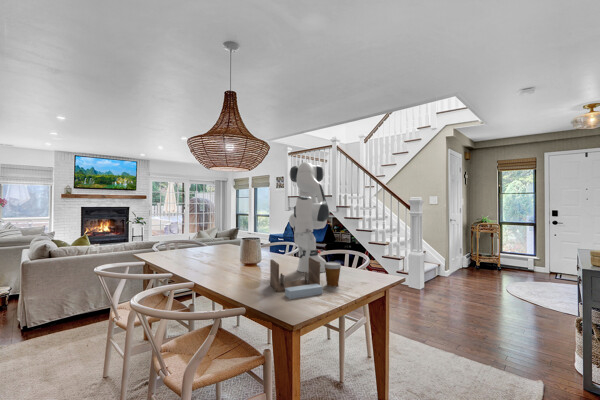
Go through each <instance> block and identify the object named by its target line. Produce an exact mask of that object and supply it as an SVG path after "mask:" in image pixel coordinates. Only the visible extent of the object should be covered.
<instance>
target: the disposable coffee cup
mask: <svg viewBox="0 0 600 400" xmlns="http://www.w3.org/2000/svg"><path fill="white" fill-rule="evenodd" d="M324 266H325V279H326V285H327V286H328V287H338V286H339V282H340V275H341V267H342V264H341V262H338V261H328V262H327V261H326V263H325V265H324Z"/></svg>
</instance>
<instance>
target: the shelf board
mask: <svg viewBox="0 0 600 400" xmlns="http://www.w3.org/2000/svg"><path fill="white" fill-rule="evenodd" d="M323 292H324V290H323V286H322V285H318V284H310V285H303V286H296V287H289V288H285V291H284V296H285V297H287V298H288V299H290V300H292V299H298V298H305V297H310V296H311V297H312V296H317V295H323Z"/></svg>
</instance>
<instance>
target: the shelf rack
mask: <svg viewBox="0 0 600 400" xmlns="http://www.w3.org/2000/svg"><path fill="white" fill-rule="evenodd" d="M269 263H270V265H269V267H270V268H269V269H270V270H269V271H270V272H269V276H270V278H269V283H270V286H271V287H272V289H273V290H274V291H275V292H276V293H281V292H285V288H289V287H296V286H303V285H310V284H318V285H320V284H321V272H320V262H319V261H317V260H315V259H313V258H311V257H309V273H307V272H303V273H304V274H303V275H304V278H303V279H296V280H286V281H285V274H283V273H280V264H279V263H278V262H276V261H275V260H274V259H270V260H269ZM320 286H321V285H320Z"/></svg>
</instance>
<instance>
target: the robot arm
mask: <svg viewBox="0 0 600 400" xmlns="http://www.w3.org/2000/svg"><path fill="white" fill-rule="evenodd" d="M323 168H324V167H322V165H318V164H316V165H314V164H312V163H310V162H307V161H305V162H301V163H300V165H298V166H297V165H294V166H292V167H290V170H289V174H288V176H289V178H290V181H291V182H294V183H296V185H297V188H298V195H299V196H298V197H296V203H295V206H293V213H291V215H290V216H289V219H288V223H289V226H290V227H291V228H292V229H293V233H294V234H293V239H294V241H293V242H294V244H295V245H296V246H297V250H298V264H297V268H296V270H297V272H300V273H304V272H307V273H309V257H311V258H313V259H315V260H317V261H319V262H320V273H324V272H325V266H324V265H325V263H326V262H327V261H326V259H324V258H323V257H322V256H321V255H319V254H321V253H322V251H321V250H319V249H317V244H316V243H317V239H316V236H315V235H314V233H313V232H314V230H320V229H324V228H325V227H326V225H327V224H328V219H329V217H330V208H329V205H328V203H327V200H326V196H325V192H324V189H323V186H322V184H321V181H323V179H324V177H325V170H324V169H323ZM325 273H326V272H325Z"/></svg>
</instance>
